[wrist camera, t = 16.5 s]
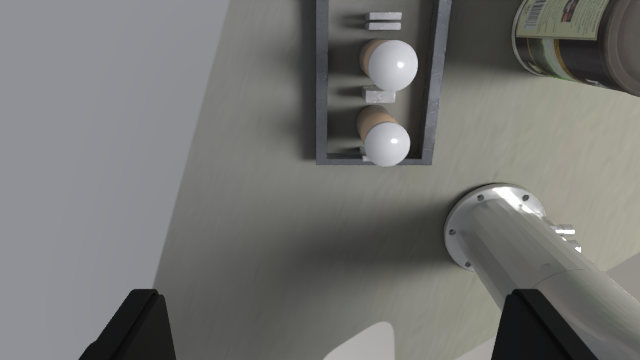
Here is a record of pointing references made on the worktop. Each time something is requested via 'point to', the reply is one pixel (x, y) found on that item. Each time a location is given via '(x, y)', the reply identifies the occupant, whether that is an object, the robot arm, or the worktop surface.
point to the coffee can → (581, 41)
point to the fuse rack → (378, 95)
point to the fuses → (375, 121)
